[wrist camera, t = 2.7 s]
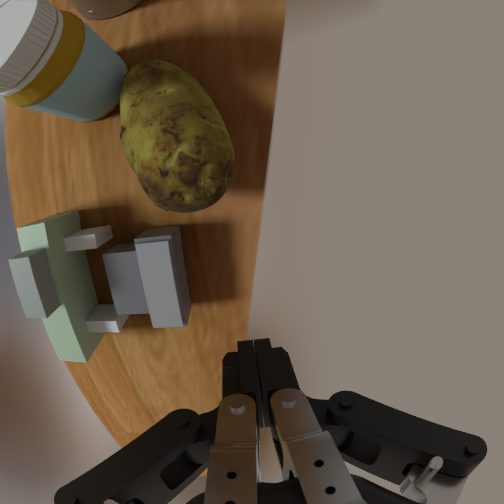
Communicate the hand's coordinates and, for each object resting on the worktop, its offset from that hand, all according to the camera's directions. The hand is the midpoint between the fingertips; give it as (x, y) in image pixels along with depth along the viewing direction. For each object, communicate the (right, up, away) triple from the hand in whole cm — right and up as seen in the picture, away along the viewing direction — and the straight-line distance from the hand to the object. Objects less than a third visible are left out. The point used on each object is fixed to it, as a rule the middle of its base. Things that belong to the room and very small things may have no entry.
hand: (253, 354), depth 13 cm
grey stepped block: (-9, +3, +12) cm, 15 cm away
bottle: (-14, +20, +7) cm, 26 cm away
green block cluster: (-16, +3, +12) cm, 20 cm away
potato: (-6, +15, +9) cm, 19 cm away
